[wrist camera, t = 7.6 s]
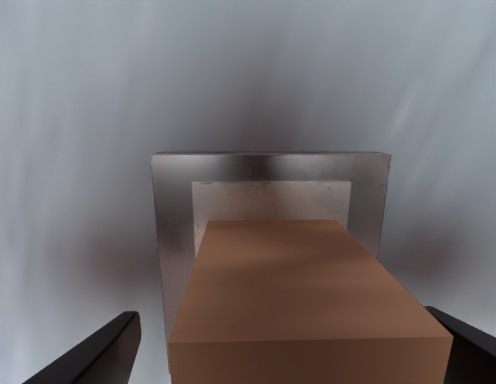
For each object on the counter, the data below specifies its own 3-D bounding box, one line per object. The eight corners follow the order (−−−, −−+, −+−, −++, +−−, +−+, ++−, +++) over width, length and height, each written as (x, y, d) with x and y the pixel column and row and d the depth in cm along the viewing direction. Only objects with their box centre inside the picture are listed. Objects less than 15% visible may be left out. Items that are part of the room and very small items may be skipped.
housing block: (336, 219, 11) (460, 343, 5) (327, 328, 12) (415, 535, 6) (208, 221, 10) (165, 350, 4) (212, 330, 12) (183, 545, 6)
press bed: (378, 152, 11) (394, 155, 10) (354, 351, 14) (364, 373, 12) (158, 152, 11) (148, 155, 10) (174, 355, 13) (168, 377, 12)
